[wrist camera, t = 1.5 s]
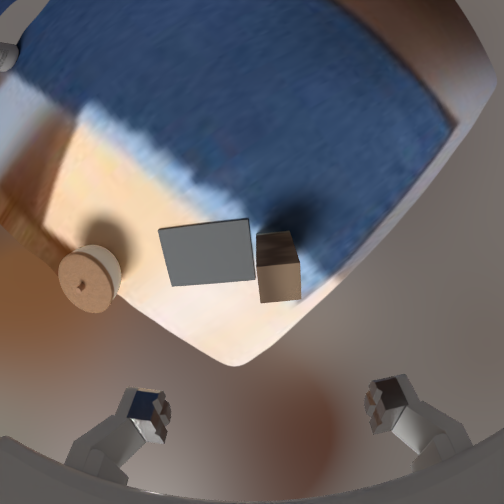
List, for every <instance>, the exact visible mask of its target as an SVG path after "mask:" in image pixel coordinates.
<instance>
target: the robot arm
mask: <svg viewBox="0 0 504 504" xmlns="http://www.w3.org/2000/svg"><path fill="white" fill-rule="evenodd" d="M369 390H370V391H368V392H367V393H366V395H365V400H364V406H365V411H366V414H367V415H369V416H370V417H371V419H370V422H369V423H370V426H371V429H372V432H373V435H374V434H379V433H383V432H387V431H392V432H393V433H394V434H395V435H396V436H398V437H399V438H400V439H401V440H402V441H403V442H404V443H406V444H407V445H408V446H409V447H410V448H411V449H413V450H414V451H415V452H416V453H417V454H419V455H418V457H417V458H416V459H415V460H414V461H413V462H412V464H411V465H410V466H411V469H412V471H413V473H412V474H409V475H406V476H403V477H401V478H397V479H394V480H391V481H388V482H384V483H381V484H377V485H373V486H370V487H365V488H361V489H357V490H353V491H348V492H343V493H338V494H333V495H326V496H319V497H312V498H304V499H295V500H282V501H260V502H259V501H258V502H242V501H241V502H240V501H217V500H205V499H194V498H187V497H179V496H173V495H167V494H161V493H155V492H151V491H146V490H142V489H138V488H133V487H129V486H127V482H128V476H127V475H126V474H125V473H124V472H123V471H122V470H120V467H121V466H122V465H123V464H124V463H125V462H126V461H127V460H128V459H129V458H130V457H132V455H134V454H135V453H136V452H137V451H138V450H139V449H140V448H141V447H142V446H143V445H144V444H145V443H146V442H152V443H159V444H165V439H166V436H167V430H166V428H165V426H167V425H168V424H169V423H170V419H171V408H170V404H169V402H167V401H166V400H165V397H166V396H165V393H164V391H159V390H150V389H144V388H137V387H128V388H126V390H125V392H124V395H123V397H122V399H121V402H120V404H119V406H118V409H117V411H116V414H115V416H114V415H111V416H110V417H108V418H107V419H106V420H104V421H103V422H101V423H100V424H98V425H97V426H96V427H94V428H93V429H91V430H90V431H88V432H87V433H85V434H84V435H82V436H81V437H80V438H78V439H77V440H75V441H74V442H73V445H72V447H71V449H70V451H69V454H68V456H67V458H66V461H65V463H64V464H62V463H60V462H57V461H55V460H53V459H51V458H49V457H47V456H45V455H42V454H40V453H38V452H37V451H35V450H32V449H31V448H29V447H27V446H25V445H23V444H22V443H20V442H18V441H16V440H15V439H13V438H11V437H9V436H3V437H0V504H504V428H503V429H501V430H499V431H498V432H496V433H495V434H493V435H491V436H490V437H488V438H486V439H485V440H483V441H481V442H479V443H478V444H476V445H474V446H473V445H472V443H471V440H470V439H469V436H468V434H467V432H466V430H465V428H464V426H463V425H462V424H461V423H459V422H458V421H456V420H455V419H453V418H451V417H449V416H447V415H446V414H444V413H443V412H441V411H439V410H438V409H436V408H434V407H433V406H431V405H429V404H427V403H426V402H424V401H421V402H420V400H419V398H418V396H417V394H416V392H415V390H414V388H413V386H412V384H411V383H410V381H409V379H408V377H407V375H406V374H401V375H397V376H391V377H388V378H383V379H378V380H373V381H371V382H370V384H369Z"/></svg>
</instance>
